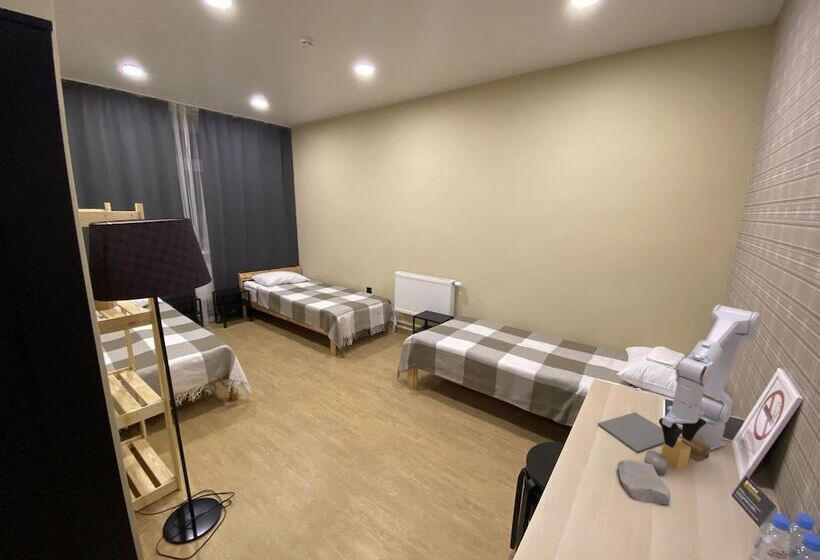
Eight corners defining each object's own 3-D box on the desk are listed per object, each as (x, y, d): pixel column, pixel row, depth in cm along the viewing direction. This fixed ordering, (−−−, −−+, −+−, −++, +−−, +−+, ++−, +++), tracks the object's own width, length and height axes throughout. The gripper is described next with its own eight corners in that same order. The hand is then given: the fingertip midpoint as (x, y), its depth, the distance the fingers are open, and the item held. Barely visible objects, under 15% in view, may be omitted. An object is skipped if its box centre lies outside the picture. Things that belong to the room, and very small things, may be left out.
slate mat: (634, 414, 120) (635, 412, 120) (676, 439, 108) (677, 437, 107) (597, 425, 114) (597, 423, 114) (637, 453, 101) (637, 451, 101)
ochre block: (670, 454, 101) (674, 437, 100) (687, 465, 97) (691, 447, 96) (660, 458, 100) (664, 440, 98) (676, 469, 96) (680, 451, 94)
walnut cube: (689, 447, 105) (692, 435, 104) (708, 458, 100) (711, 446, 99) (679, 450, 103) (681, 439, 102) (697, 462, 98) (700, 450, 97)
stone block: (630, 507, 86) (674, 507, 83) (628, 490, 85) (673, 490, 83) (611, 472, 97) (650, 472, 95) (610, 458, 96) (649, 457, 94)
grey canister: (651, 460, 99) (654, 449, 98) (669, 473, 94) (672, 461, 93) (639, 464, 97) (641, 453, 96) (656, 478, 92) (659, 465, 92)
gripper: (688, 388, 100) (679, 428, 103) (654, 397, 95) (646, 438, 98) (716, 401, 93) (706, 443, 96) (681, 411, 88) (672, 455, 92)
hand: (677, 442), depth 97 cm, fingers open, 7 cm apart
